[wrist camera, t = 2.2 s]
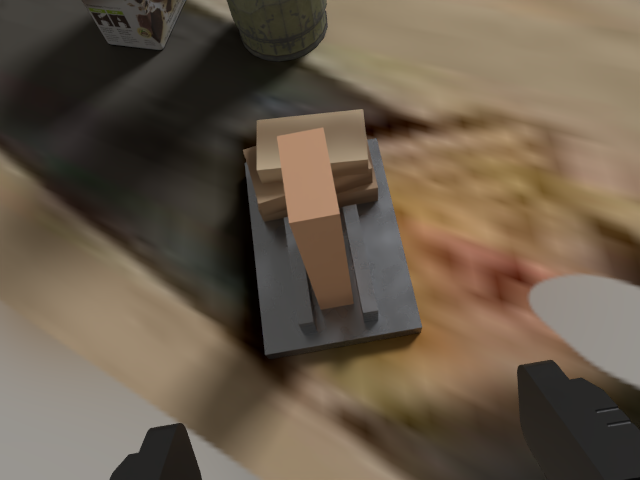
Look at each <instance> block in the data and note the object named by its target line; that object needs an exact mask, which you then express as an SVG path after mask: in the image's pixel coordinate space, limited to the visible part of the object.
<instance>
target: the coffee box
mask: <svg viewBox="0 0 640 480" xmlns="http://www.w3.org/2000/svg"><path fill="white" fill-rule="evenodd" d="M185 1H186V0H82V2H83V3H84V5H85V7H86V8H87V10H88V11H89V13H90V14H91V16H92V18H93V19H94V21H95V23H96V24H97V26H98V28H99V29H100V31H101V33H102V34H103V36H104V37H105V39H106V41H107V42H108V43H109V44H112V45H121V46H129V47H138V48H146V49H155V50H162V49H163V48H164V46H165V44H166V42H167V40H168V37H169V35H170V33H171V31H172V29H173V27H174V25H175V22H176V20H177V18H178V16H179V14H180V12H181V9H182V7H183V5H184V3H185Z"/></svg>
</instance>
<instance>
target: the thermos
mask: <svg viewBox="0 0 640 480" xmlns="http://www.w3.org/2000/svg"><path fill="white" fill-rule="evenodd" d="M227 2H228V5H229V8H230V11H231V15H232V17H233V20H234V22H235V24H236V26H237V28H239V34H240V37H241V40H242V42H243V44H244V46H245V48H246V49H247V50H248V51H249V52H251V53H252V54H253V55H254V56H257V57H259V58H261V59H264V60H270V61H286V60H293V59H296V58H298V57H301V56H303V55H306V54H307V53H309V52H310V51H311V50H313V49H314V48H316V47H317V46H318V44H319V43H320V42H321V41H322V39H323V38H324V36H325V33H326V30H327V27H328V26H327V15H326V11H325V8H326V5H327V3H326V0H227Z"/></svg>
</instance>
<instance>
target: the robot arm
mask: <svg viewBox="0 0 640 480" xmlns="http://www.w3.org/2000/svg"><path fill="white" fill-rule="evenodd" d="M517 377H518V394H519V411H520V422H521V427H522V431H523V434H524V437H525V440H526V442H527V445H528V447H529V448H530V450H531V452H532V454H533V455H534V457H535V459H536V460H537V462H538V464H539V466H540V467H541V469H542V471H543V472H544V474H545V476H546V478H547V479H548V480H640V430H639V429H638V428H637V427H636V426H635V425H634V424H633V423H631V422H630V419H629V418H628V417H627V416H626V415H625V414H624V412H623V411H622V410H621V409H620V410H619V409H618V406H617V405H616V404H615V403H614V401H613V400H612V399H611V398H610V397H609V396H608V395H607V394H606V393H605V392H604V390H602V389H601V388H599V387H597V386H595V385H593V384H592V383H590V382H588V381H586V380H585V379H583V378H577V379H571V380H569V378H568V377H567V376H566V375H565V374H564V372H563V371H562V370H561V369H560V368H559V366H558V365H557V364H556V363H555V362H554V361H553V360H547V361H541V362H535V363H530V364H524V365H519V366H518V370H517ZM110 480H202V478H201V473H200V470H199V467H198V464H197V460H196V457H195V454H194V451H193V449H192V445H191V442H190V439H189V436H188V433H187V430H186V428H185V426H184V425H183V424H182V423H177V424H172V425H166V426H160V427H154V428H150V429H149V430H148V432H147V434H146V436H145V439H144V441H143V443H142V446H141V448H140V451H139V453H135V454H129V455H128V456H127V457H126V458H125V459H124V461H123V462H122V463H121V464H120V465H119V466H118V467H117V468H116V470H115V471H114V472H113V473H112V475H111V477H110Z"/></svg>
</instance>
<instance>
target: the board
mask: <svg viewBox="0 0 640 480" xmlns="http://www.w3.org/2000/svg"><path fill="white" fill-rule="evenodd" d="M277 141H278V148H279V155H280V163H281V170H282V177H283V184H284V191H285V198H286V205H287V212H288V219H289V224H290V227H291V230H292V233H293V235H294V238H295V241H296V244H297V246H298V249H299V252H300V255H301V257H302V260H303V263H304V265H305V268H306V271H307V274H308V276H309V279H310V282H311V285H312V287H313V290H314V293H315V296H316V298H317V301H318V304H319V307H320V309H321V310H322V309H328V308H333V307H339V306H344V305H350V304H354V301H353V295H352V288H351V282H350V276H349V269H348V263H347V256H346V250H345V244H344V237H343V231H342V225H341V218H340V212H339V207H338V202H337V196H336V191H335V186H334V181H333V175H332V170H331V165H330V159H329V154H328V149H327V144H326V138H325V133H324V128H323V127H322V128H317V129H312V130H307V131H301V132H296V133H291V134H286V135H280V136H277Z"/></svg>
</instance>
